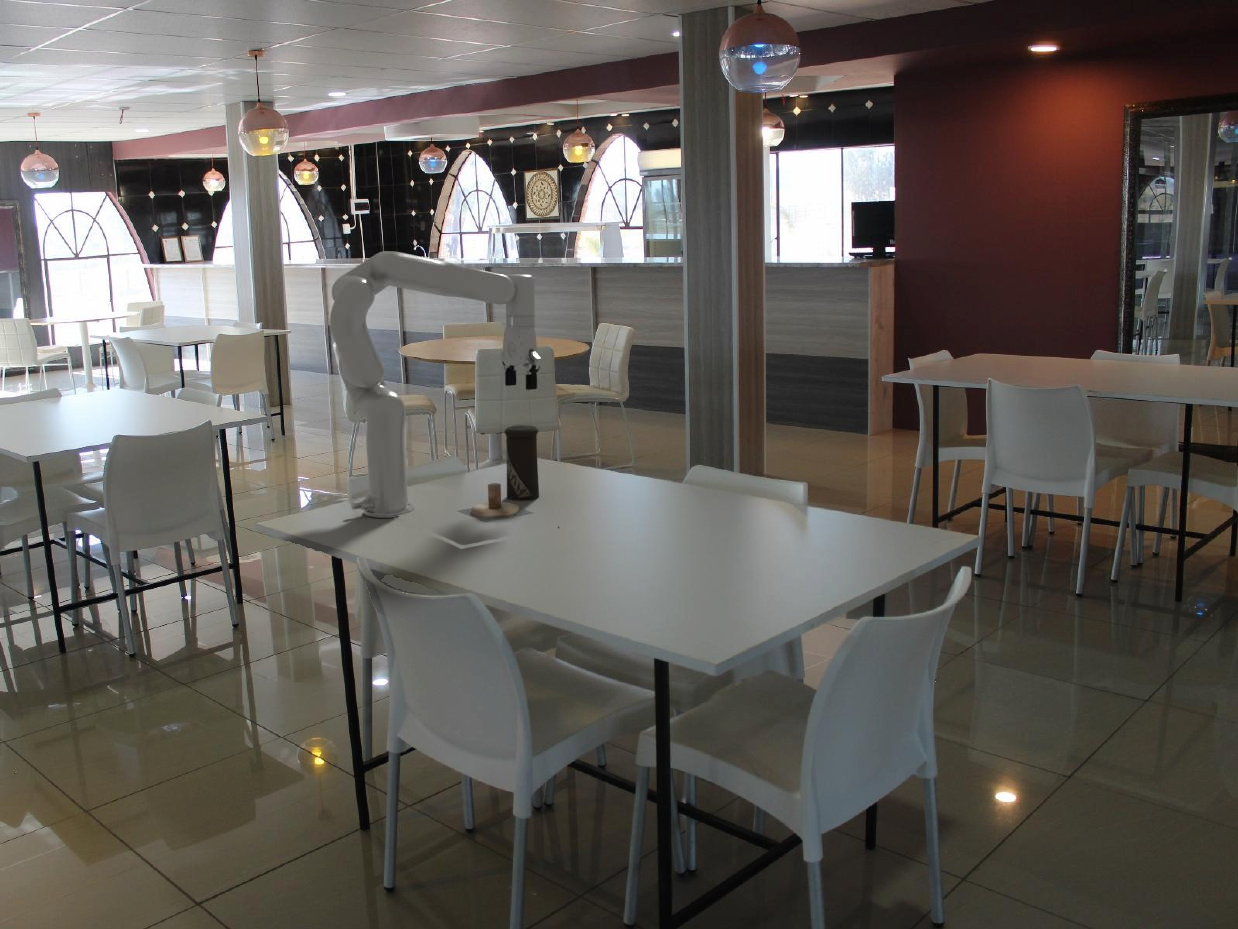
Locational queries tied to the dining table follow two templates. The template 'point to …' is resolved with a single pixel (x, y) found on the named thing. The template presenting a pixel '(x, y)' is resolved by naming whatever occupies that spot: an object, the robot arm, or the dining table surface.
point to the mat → (468, 512)
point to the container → (522, 463)
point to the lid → (494, 505)
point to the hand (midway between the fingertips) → (521, 387)
